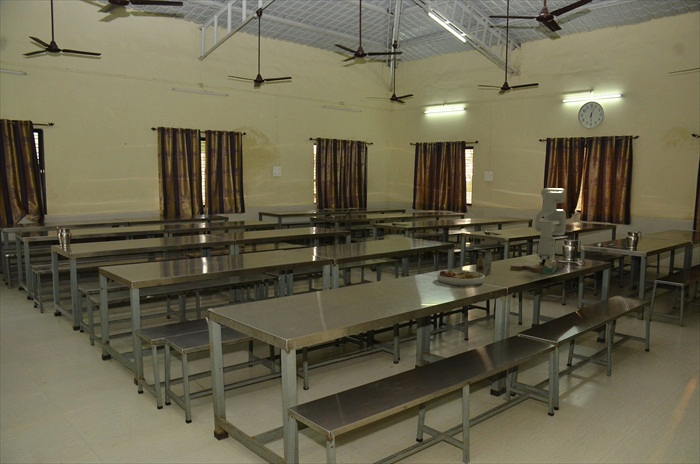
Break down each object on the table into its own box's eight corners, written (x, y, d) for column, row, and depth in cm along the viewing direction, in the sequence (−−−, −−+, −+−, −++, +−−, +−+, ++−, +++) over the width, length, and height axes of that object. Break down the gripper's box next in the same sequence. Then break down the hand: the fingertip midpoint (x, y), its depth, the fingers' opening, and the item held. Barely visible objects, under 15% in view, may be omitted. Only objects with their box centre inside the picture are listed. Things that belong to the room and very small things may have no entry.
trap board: (515, 266, 402) (516, 262, 402) (556, 270, 388) (556, 266, 388) (510, 269, 388) (510, 265, 387) (552, 273, 373) (552, 269, 373)
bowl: (467, 276, 362) (467, 265, 361) (494, 285, 334) (494, 272, 333) (428, 279, 351) (428, 267, 350) (452, 288, 323) (453, 275, 322)
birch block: (547, 264, 384) (550, 258, 382) (553, 267, 380) (556, 261, 378) (544, 265, 381) (546, 259, 379) (549, 268, 377) (552, 262, 375)
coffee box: (475, 272, 376) (476, 249, 374) (482, 271, 378) (483, 249, 377) (483, 274, 368) (484, 251, 366) (491, 273, 370) (492, 251, 368)
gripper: (557, 240, 381) (556, 265, 383) (535, 238, 388) (534, 263, 390) (555, 241, 374) (554, 266, 376) (533, 239, 382) (532, 264, 384)
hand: (544, 265), depth 383 cm, fingers closed
